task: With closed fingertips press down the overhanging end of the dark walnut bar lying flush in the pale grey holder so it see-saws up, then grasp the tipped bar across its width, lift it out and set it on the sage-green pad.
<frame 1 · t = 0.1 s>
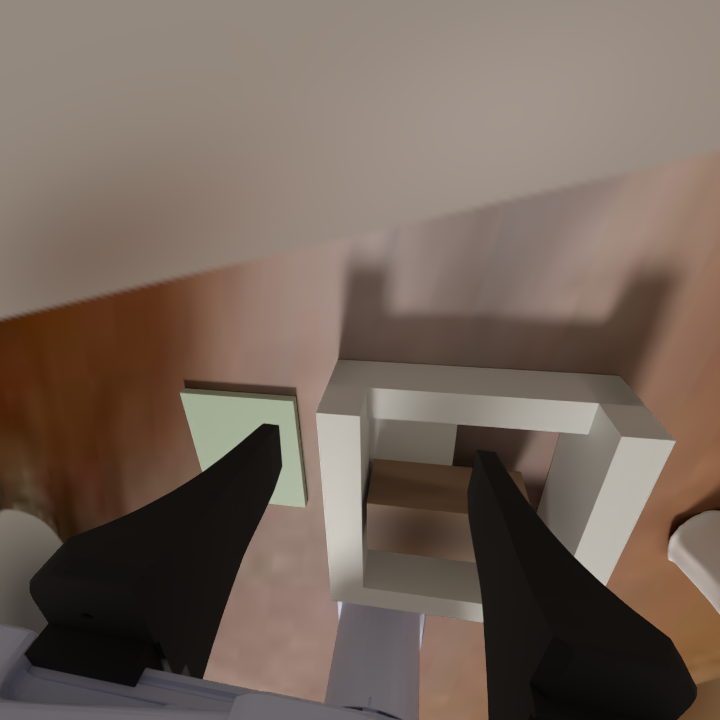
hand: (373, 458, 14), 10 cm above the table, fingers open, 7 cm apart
bar: (442, 488, 25), point 2 cm above the table, touching holder
holder: (447, 466, 27), on the table
pad: (250, 448, 29), on the table
figurine: (718, 533, 26), on the table
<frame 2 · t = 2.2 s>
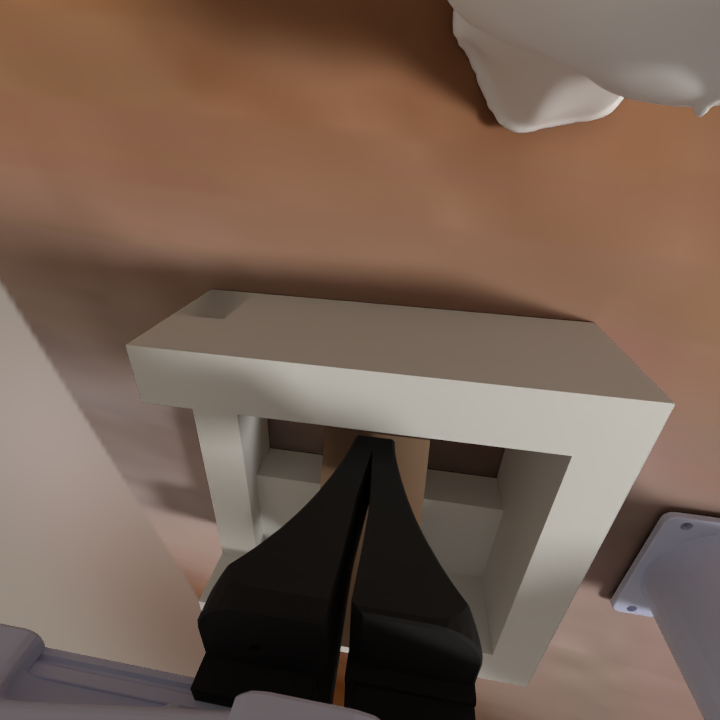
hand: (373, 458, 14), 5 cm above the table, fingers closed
bar: (374, 502, 19), point 2 cm above the table, tilted 22°, touching holder
holder: (379, 462, 20), on the table
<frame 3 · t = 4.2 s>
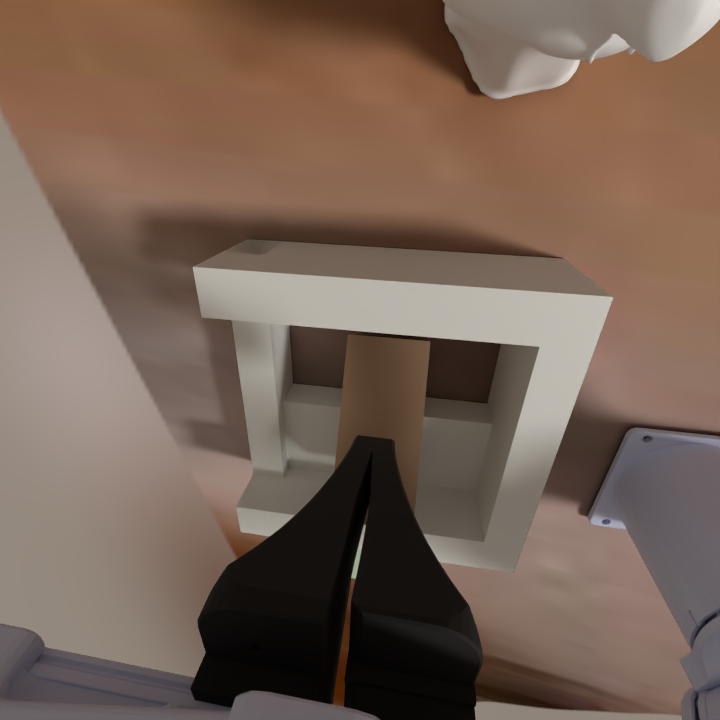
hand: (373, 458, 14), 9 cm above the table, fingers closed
bar: (383, 421, 22), point 2 cm above the table, tilted 30°, touching holder
holder: (387, 393, 24), on the table
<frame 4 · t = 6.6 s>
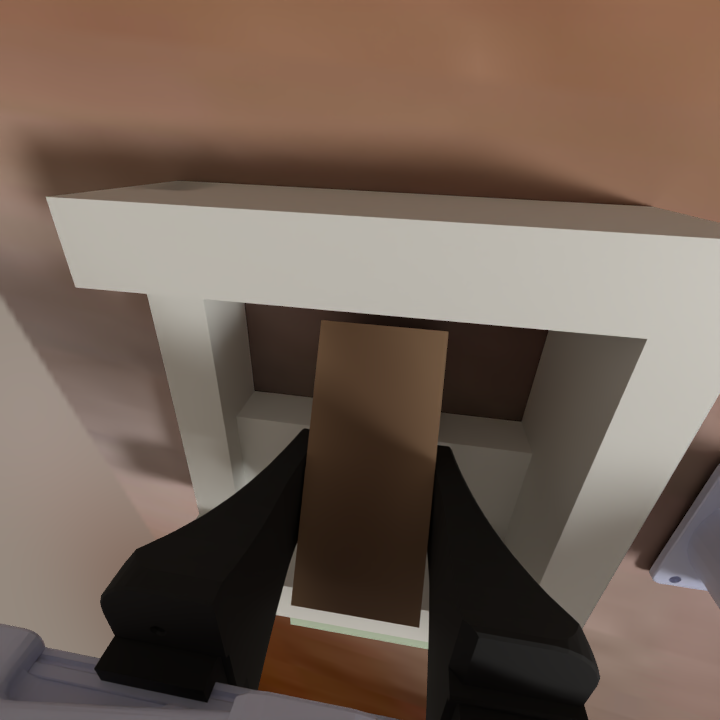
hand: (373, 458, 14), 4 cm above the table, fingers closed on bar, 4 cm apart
bar: (376, 447, 16), point 2 cm above the table, tilted 30°, touching gripper, holder
holder: (382, 405, 17), on the table
pad: (367, 593, 24), on the table
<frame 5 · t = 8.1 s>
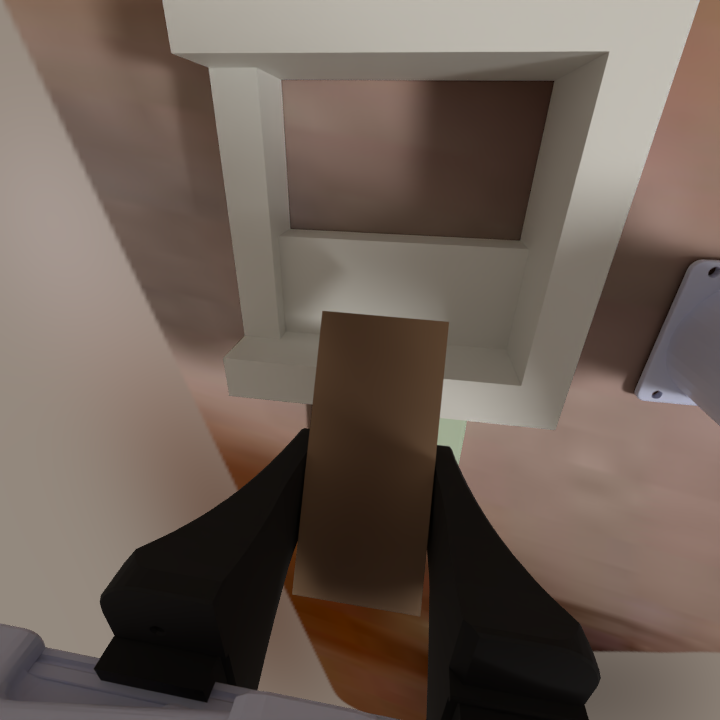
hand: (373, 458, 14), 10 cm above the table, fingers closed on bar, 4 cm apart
bar: (377, 439, 16), point 9 cm above the table, tilted 30°, touching gripper
holder: (401, 234, 20), on the table
pad: (386, 445, 27), on the table
when the fingers open (5 cm above the table, at t = 10.0 s): bar drops 3 cm, resting on pad.
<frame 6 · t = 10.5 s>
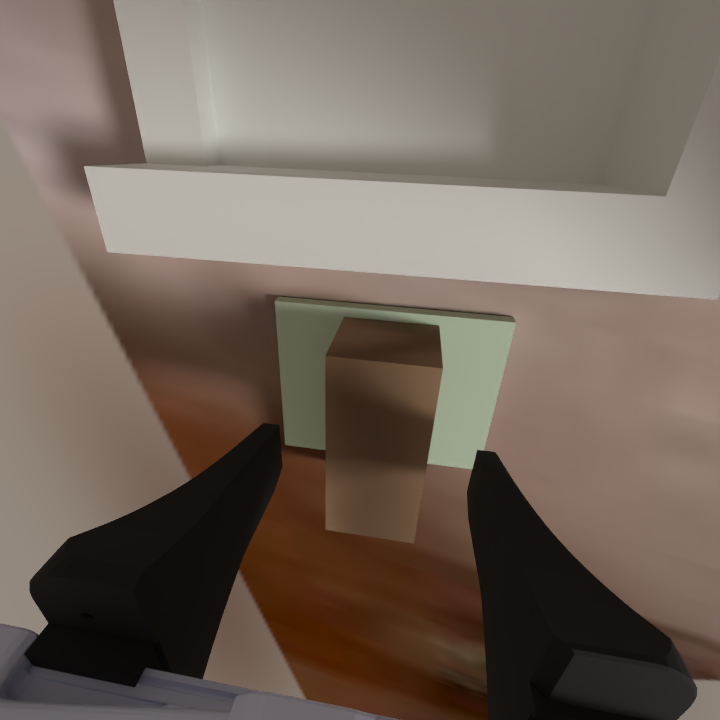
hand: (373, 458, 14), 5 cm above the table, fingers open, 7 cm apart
bar: (383, 408, 18), point 1 cm above the table, touching pad
pad: (385, 385, 18), on the table
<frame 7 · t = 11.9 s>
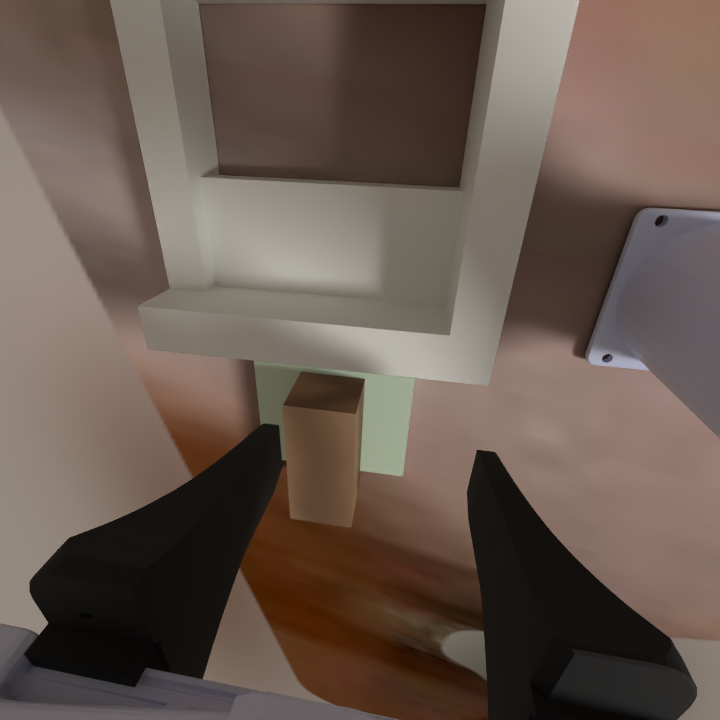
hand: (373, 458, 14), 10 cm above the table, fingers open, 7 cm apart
bar: (332, 432, 26), point 1 cm above the table, touching pad
holder: (335, 180, 19), on the table
pad: (334, 416, 26), on the table
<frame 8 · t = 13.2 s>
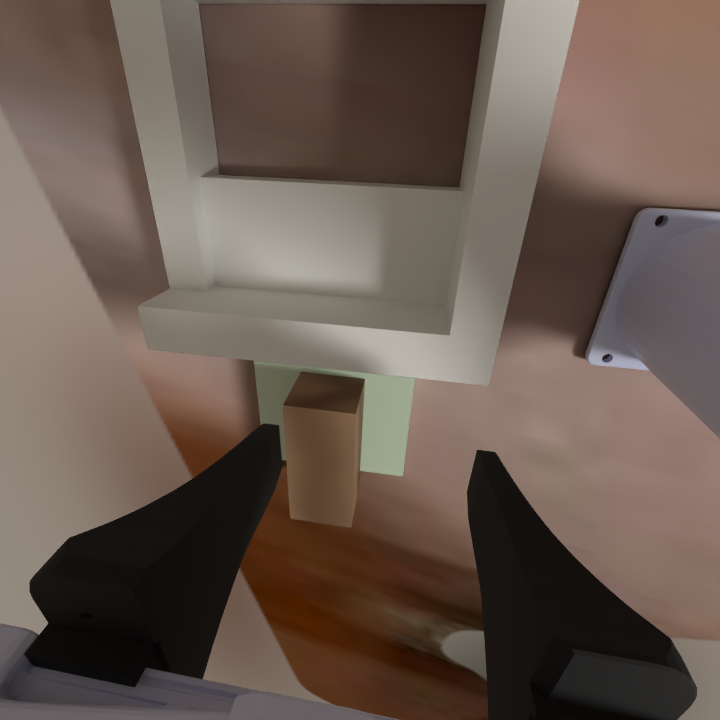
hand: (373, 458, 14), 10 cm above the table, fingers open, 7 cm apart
bar: (332, 432, 26), point 1 cm above the table, touching pad
holder: (335, 180, 19), on the table
pad: (334, 416, 26), on the table
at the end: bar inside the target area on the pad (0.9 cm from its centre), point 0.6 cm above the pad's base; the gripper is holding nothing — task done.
